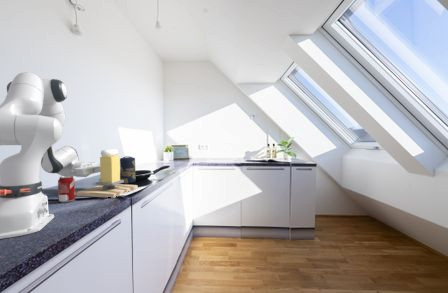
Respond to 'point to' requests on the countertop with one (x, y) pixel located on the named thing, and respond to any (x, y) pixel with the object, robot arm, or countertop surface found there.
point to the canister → (127, 169)
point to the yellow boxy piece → (109, 168)
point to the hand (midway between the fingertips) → (104, 169)
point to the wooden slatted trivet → (106, 190)
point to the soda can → (66, 189)
